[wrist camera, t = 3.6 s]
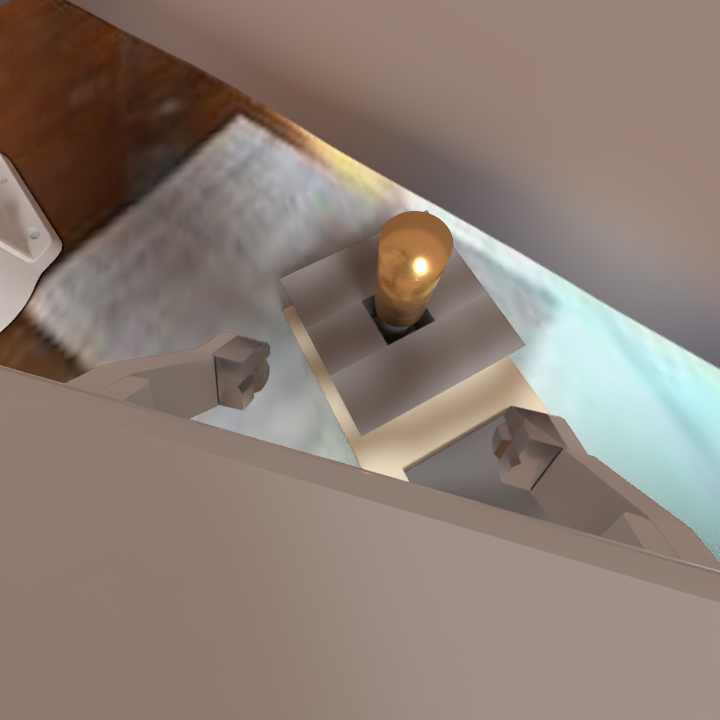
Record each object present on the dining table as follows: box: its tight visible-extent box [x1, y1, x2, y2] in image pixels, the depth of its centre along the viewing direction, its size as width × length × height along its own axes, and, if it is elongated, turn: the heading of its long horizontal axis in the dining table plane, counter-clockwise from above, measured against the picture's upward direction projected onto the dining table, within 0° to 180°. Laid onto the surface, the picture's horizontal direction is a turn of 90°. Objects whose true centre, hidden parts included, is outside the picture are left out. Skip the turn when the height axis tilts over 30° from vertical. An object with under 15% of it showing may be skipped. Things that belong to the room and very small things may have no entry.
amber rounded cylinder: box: [374, 211, 453, 345], centre depth 18 cm, size 3×3×11 cm
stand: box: [280, 210, 554, 523], centre depth 20 cm, size 26×14×6 cm, turn 28°
